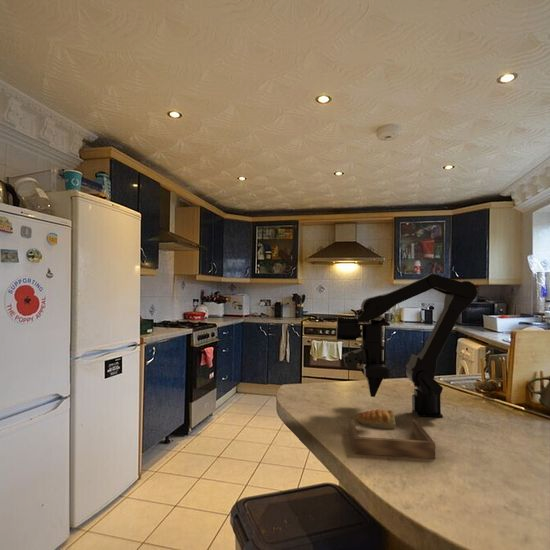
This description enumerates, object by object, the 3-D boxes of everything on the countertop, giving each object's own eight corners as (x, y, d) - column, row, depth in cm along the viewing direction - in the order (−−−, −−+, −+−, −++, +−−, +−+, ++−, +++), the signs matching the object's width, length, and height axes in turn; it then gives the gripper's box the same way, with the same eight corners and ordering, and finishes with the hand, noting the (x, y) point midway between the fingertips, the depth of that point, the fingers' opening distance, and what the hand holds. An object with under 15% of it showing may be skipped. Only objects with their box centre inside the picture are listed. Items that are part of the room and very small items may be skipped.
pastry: (357, 427, 89) (357, 411, 89) (356, 418, 95) (356, 404, 96) (397, 430, 87) (397, 414, 87) (393, 421, 94) (393, 406, 94)
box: (416, 432, 85) (416, 420, 85) (435, 458, 72) (435, 443, 72) (348, 429, 87) (348, 416, 87) (354, 453, 74) (354, 438, 74)
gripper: (341, 337, 113) (341, 387, 112) (346, 344, 94) (346, 405, 93) (377, 337, 111) (378, 388, 110) (389, 346, 93) (390, 407, 92)
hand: (372, 396), depth 102 cm, fingers closed
